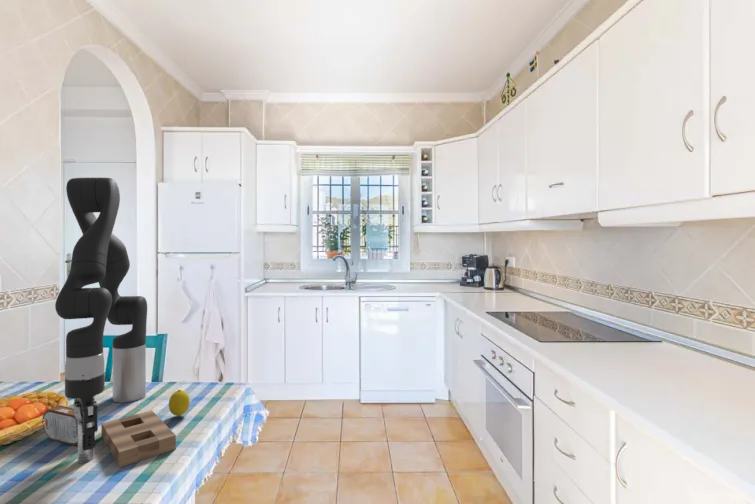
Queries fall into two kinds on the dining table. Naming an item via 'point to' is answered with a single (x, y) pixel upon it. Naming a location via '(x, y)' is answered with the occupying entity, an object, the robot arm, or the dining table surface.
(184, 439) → the dining table surface
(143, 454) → the hole block
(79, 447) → the peg
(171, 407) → the lemon
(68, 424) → the tin
